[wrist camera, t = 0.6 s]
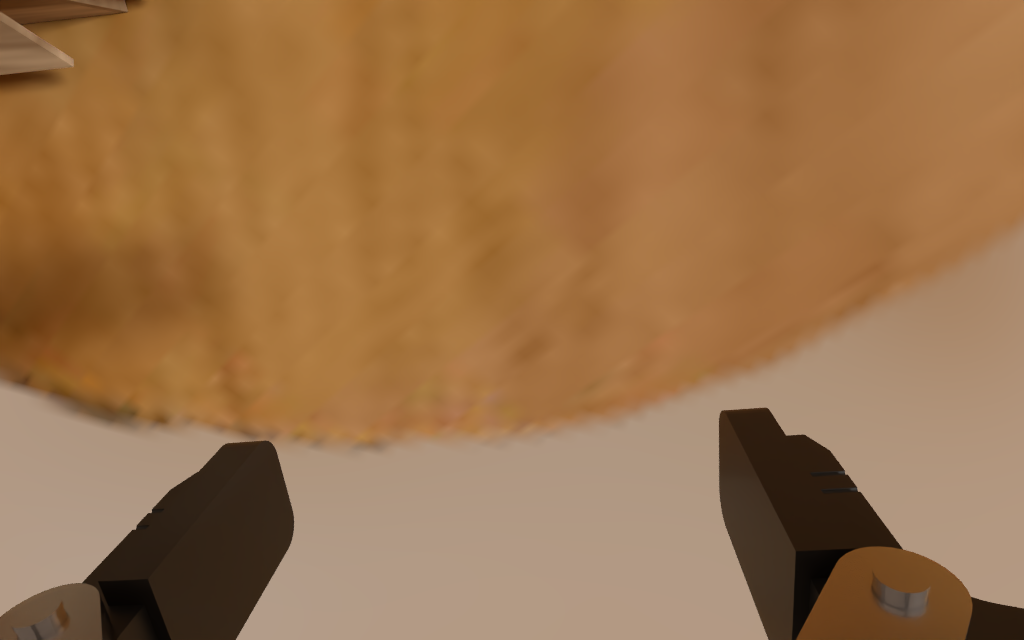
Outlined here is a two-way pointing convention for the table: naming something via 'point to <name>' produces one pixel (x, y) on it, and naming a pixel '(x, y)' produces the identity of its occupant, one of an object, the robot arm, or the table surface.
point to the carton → (14, 49)
